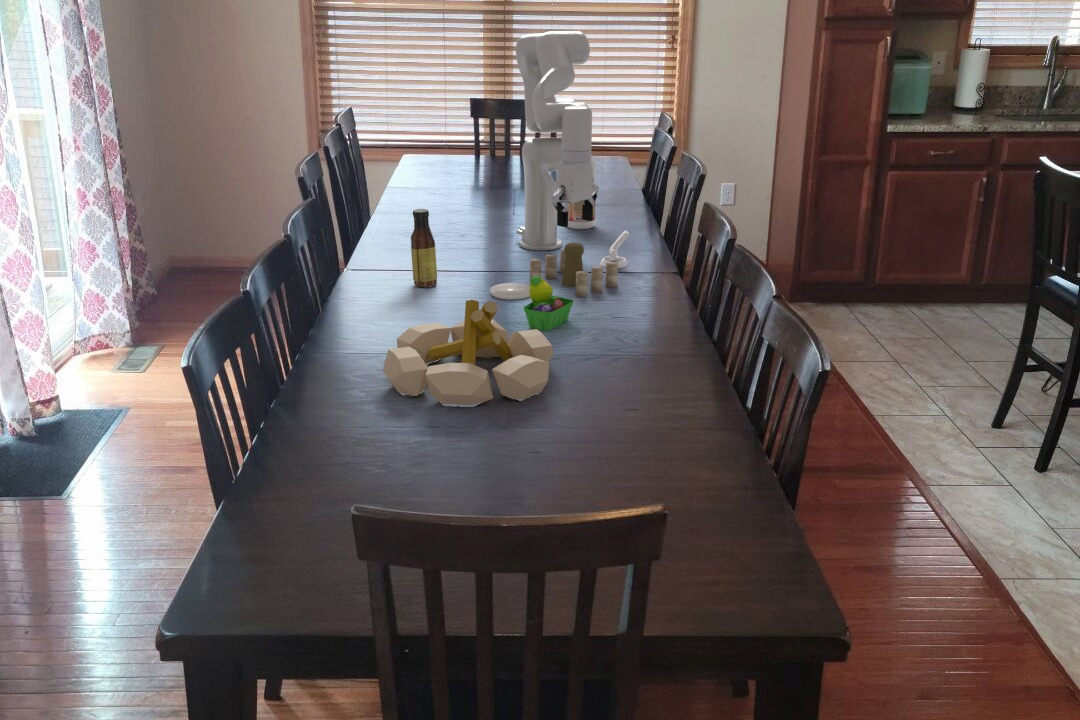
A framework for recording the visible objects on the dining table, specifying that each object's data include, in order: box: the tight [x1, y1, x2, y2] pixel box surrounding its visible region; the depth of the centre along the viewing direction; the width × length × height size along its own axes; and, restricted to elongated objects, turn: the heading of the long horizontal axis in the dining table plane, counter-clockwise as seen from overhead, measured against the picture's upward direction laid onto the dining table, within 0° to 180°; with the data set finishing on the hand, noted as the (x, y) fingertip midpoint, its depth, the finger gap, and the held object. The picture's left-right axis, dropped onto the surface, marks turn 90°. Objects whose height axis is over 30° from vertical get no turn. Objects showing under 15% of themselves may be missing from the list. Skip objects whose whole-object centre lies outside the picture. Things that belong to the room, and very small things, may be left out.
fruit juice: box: [566, 154, 597, 230], centre depth 328 cm, size 9×9×28 cm
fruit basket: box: [523, 276, 574, 332], centre depth 244 cm, size 11×9×11 cm
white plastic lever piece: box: [600, 230, 630, 269], centre depth 292 cm, size 8×12×7 cm
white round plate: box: [489, 282, 530, 301], centre depth 268 cm, size 11×11×1 cm
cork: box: [561, 242, 585, 288], centre depth 274 cm, size 6×6×11 cm
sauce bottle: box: [410, 208, 438, 288], centre depth 270 cm, size 7×6×20 cm
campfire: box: [382, 299, 555, 405], centre depth 213 cm, size 35×34×17 cm
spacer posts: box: [529, 249, 619, 298], centre depth 275 cm, size 19×15×6 cm
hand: (575, 223), depth 269 cm, fingers open, 9 cm apart
